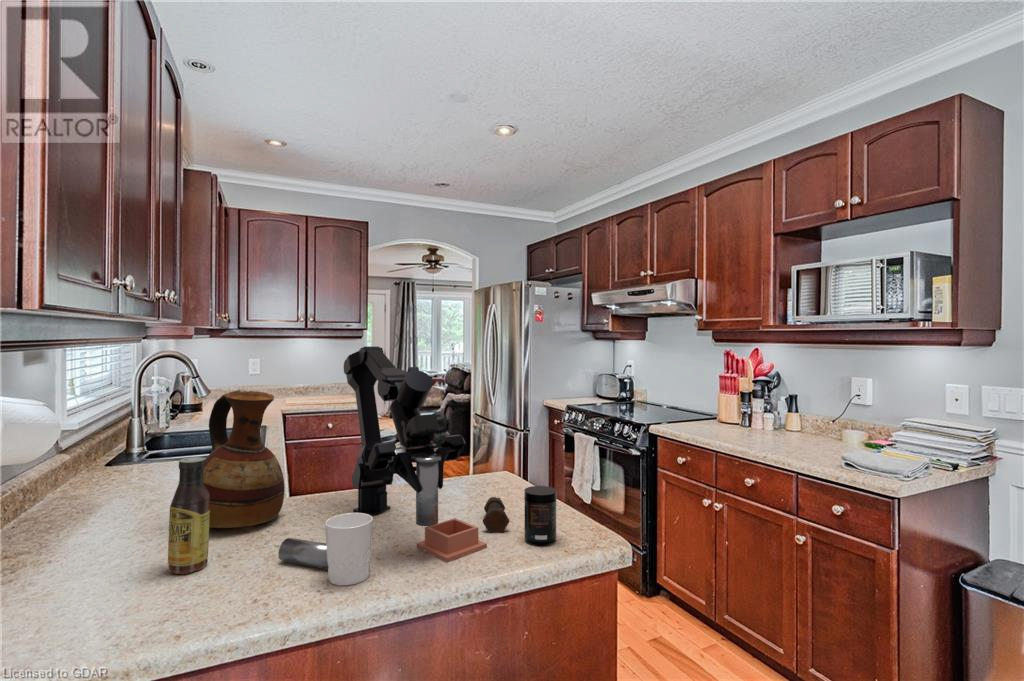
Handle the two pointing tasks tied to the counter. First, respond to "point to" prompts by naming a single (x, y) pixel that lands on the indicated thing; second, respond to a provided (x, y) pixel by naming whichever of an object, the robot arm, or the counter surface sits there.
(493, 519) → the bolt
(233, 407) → the ceramic pitcher
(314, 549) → the pin
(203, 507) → the sauce bottle
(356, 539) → the white cup
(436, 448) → the robot arm
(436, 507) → the steel pin
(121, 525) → the counter surface
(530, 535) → the supplement container
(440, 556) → the square planter with saucer
